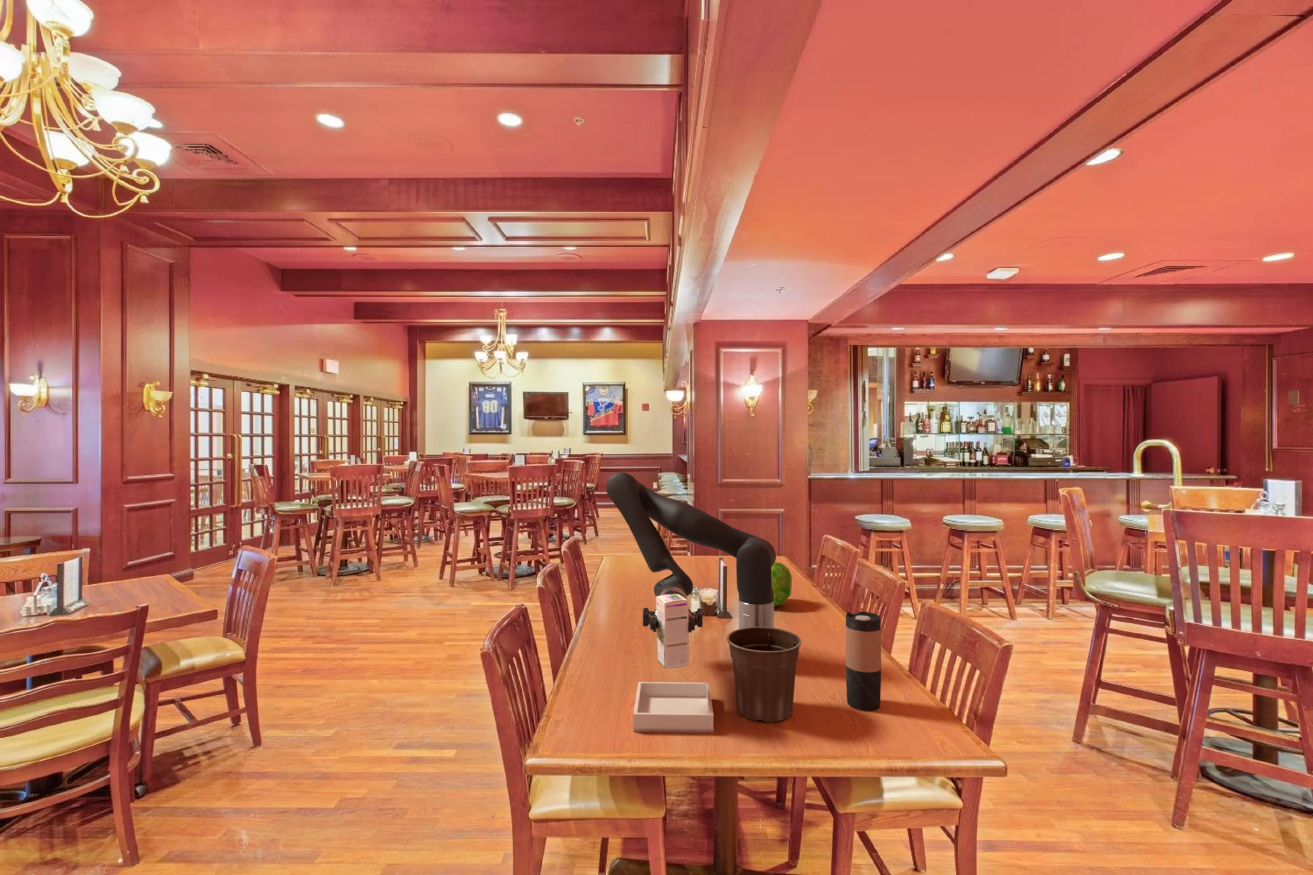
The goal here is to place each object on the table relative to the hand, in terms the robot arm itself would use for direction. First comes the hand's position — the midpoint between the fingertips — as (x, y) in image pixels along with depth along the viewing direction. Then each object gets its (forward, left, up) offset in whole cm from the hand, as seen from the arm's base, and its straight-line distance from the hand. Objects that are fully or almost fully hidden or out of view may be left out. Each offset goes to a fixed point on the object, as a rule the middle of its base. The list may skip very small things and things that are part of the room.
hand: (672, 627), depth 128 cm
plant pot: (-20, -4, -20) cm, 28 cm away
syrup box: (0, -2, -9) cm, 9 cm away
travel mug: (-43, -8, -20) cm, 48 cm away
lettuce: (-34, -89, -20) cm, 97 cm away
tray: (0, -2, -19) cm, 20 cm away
